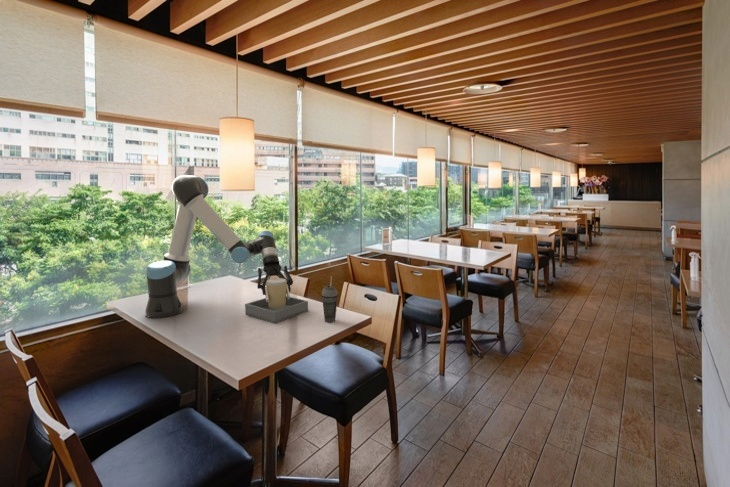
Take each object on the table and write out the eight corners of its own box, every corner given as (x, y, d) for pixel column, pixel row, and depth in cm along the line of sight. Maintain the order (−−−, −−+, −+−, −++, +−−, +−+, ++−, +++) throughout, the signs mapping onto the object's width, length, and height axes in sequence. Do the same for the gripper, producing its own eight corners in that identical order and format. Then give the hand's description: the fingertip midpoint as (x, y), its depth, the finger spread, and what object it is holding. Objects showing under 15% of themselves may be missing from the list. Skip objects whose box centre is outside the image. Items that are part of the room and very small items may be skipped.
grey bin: (275, 323, 160) (274, 312, 159) (245, 314, 171) (244, 304, 171) (308, 311, 176) (307, 301, 175) (278, 303, 188) (278, 294, 187)
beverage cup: (329, 317, 168) (329, 273, 165) (341, 320, 164) (341, 275, 161) (318, 321, 163) (317, 276, 160) (330, 325, 158) (329, 278, 155)
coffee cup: (290, 303, 177) (289, 278, 176) (283, 309, 168) (283, 283, 167) (271, 302, 178) (270, 277, 177) (263, 308, 169) (262, 282, 167)
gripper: (291, 261, 189) (300, 300, 177) (246, 265, 180) (253, 306, 168) (293, 252, 184) (303, 292, 172) (247, 255, 175) (254, 297, 163)
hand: (278, 299), depth 170 cm, fingers closed on coffee cup, 9 cm apart
